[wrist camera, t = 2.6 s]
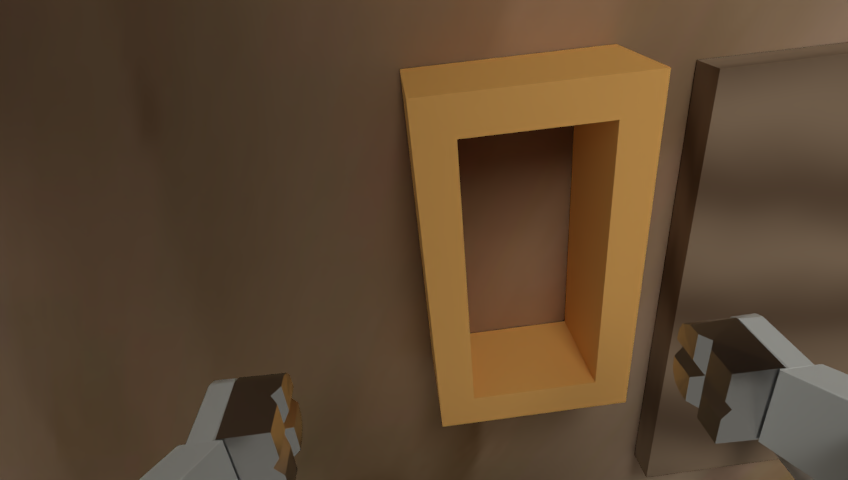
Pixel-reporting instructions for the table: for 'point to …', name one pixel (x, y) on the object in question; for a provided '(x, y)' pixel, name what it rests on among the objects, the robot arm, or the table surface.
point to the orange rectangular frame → (588, 224)
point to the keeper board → (753, 232)
